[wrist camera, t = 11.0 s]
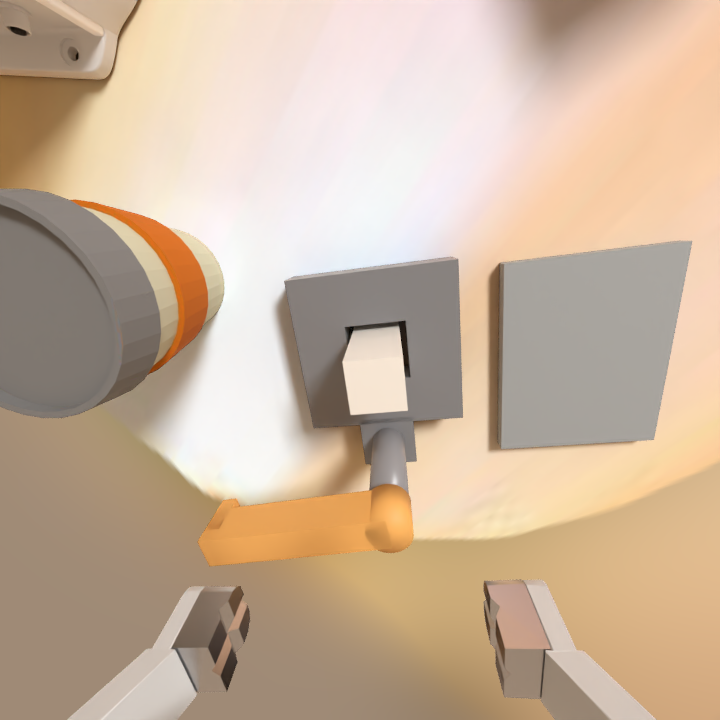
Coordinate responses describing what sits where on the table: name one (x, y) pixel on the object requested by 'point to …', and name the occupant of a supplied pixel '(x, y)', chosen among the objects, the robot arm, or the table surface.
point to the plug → (375, 369)
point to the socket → (424, 345)
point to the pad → (587, 344)
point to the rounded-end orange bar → (309, 527)
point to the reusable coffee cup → (92, 300)
